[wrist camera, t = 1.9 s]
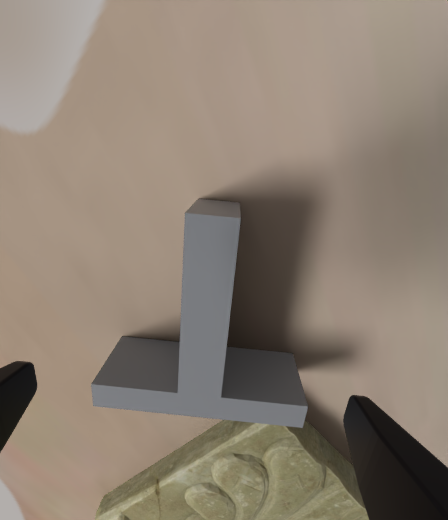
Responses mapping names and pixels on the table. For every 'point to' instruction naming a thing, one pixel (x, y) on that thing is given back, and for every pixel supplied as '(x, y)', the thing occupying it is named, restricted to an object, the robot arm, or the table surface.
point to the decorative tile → (243, 479)
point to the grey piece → (204, 344)
